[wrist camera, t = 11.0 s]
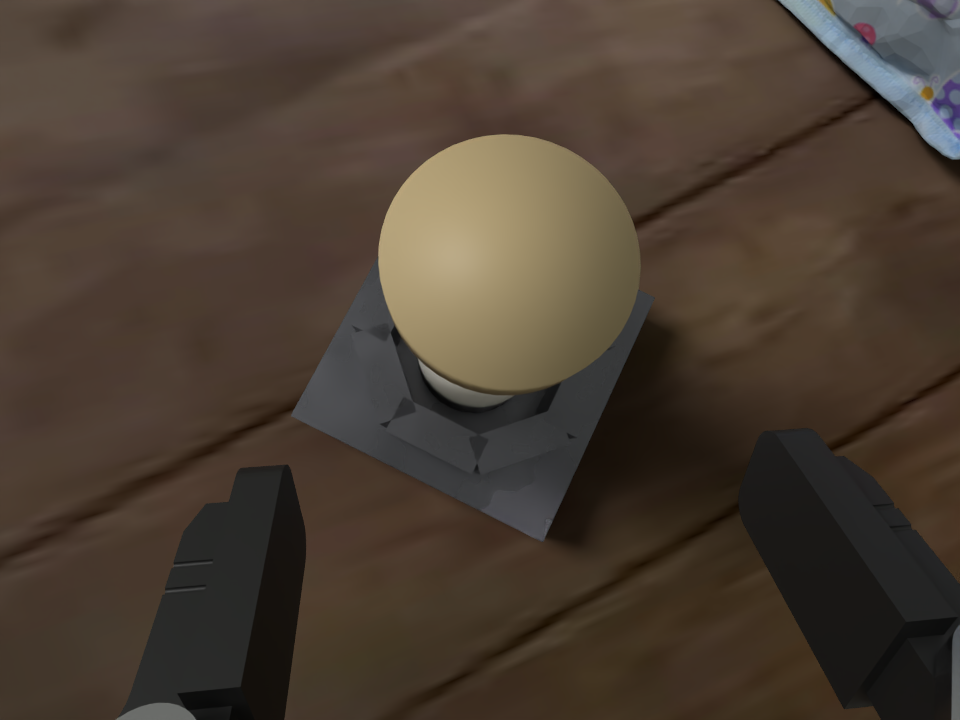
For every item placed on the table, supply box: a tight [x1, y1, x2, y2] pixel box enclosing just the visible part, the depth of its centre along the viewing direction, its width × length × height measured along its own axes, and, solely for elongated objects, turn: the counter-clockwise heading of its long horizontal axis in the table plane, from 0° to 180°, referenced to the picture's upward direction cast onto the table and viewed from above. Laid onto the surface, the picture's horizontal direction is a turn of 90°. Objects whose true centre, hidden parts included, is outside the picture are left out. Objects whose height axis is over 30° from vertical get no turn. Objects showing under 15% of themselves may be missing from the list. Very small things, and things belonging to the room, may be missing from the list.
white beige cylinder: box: [378, 135, 641, 413], centre depth 18 cm, size 5×5×12 cm
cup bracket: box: [291, 256, 655, 542], centre depth 23 cm, size 10×10×6 cm
